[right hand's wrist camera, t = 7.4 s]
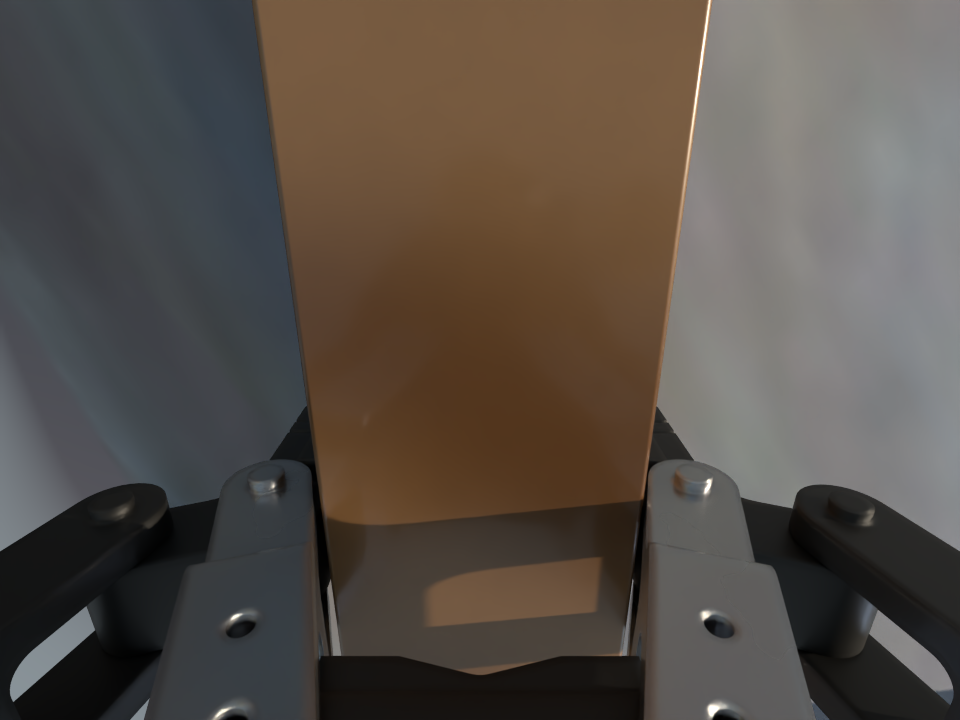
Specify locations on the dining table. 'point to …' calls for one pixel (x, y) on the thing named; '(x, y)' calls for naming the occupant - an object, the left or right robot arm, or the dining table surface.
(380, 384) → the post
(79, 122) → the dining table surface
